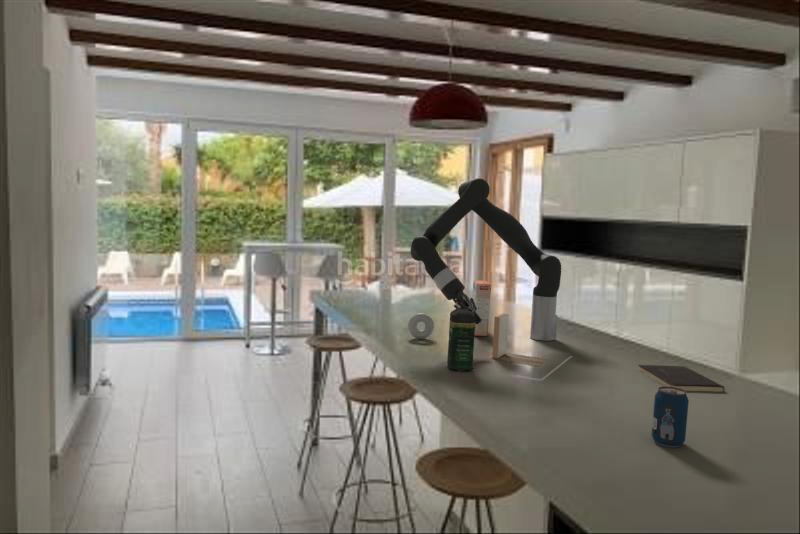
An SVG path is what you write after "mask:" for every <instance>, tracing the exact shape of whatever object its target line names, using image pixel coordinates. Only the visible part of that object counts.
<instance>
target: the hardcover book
mask: <svg viewBox="0 0 800 534" xmlns="http://www.w3.org/2000/svg"><path fill="white" fill-rule="evenodd" d="M638 367H639V371H640V372H642V373H643V374H645V375H646V376H648V377H650V378H652V379H653V380H655V381H656V382H658V383H660V384H661V385H663V387H674V388H679V389H682V390H684V391H686V392H716V393H717V392H719V393H725V386H724V385H722V384H720V383H719V382H716V381H714V380H713V379H710V378H708V377H707V376H705V375H703V374H700V373H699V372H696V371H695V370H693V369H691V368H689V367H687V366H685V365H657V364H656V365H655V364H652V365H651V364H638Z"/></svg>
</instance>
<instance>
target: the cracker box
mask: <svg viewBox="0 0 800 534" xmlns="http://www.w3.org/2000/svg"><path fill="white" fill-rule="evenodd" d="M472 287H473V288H472V298H473V300H474V303H475V305H476V308H477V310H476V313H477V314H478V315H479V317H480V318H481V319H482V321H481V322H480V323H479V324H475V336H474V337H488V334H489V321H490V320H489V319H490V318H489V317H490V309H491V306H490V305H491V294H492V293H491V292H492V291H491V290H492V284H491V283H490V282H488V281H487V280H482V279H481V280H479V279H478V280H477V279H474V280H473V286H472Z"/></svg>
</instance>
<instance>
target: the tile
mask: <svg viewBox="0 0 800 534" xmlns="http://www.w3.org/2000/svg"><path fill="white" fill-rule="evenodd" d="M509 316H510V315H509V313H506V312H505V313H504V312H503V313H500V314H497V315H496V316H495V315H494V320H493V321H494V324H493V339H492V340H493V341H492V353H491V355H492V358H495V359H497V358H499V357H501V356H503V355H504V354H506V353H508V351H507V349H508V332H509V320H510V319H509V318H510V317H509Z"/></svg>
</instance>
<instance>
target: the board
mask: <svg viewBox="0 0 800 534" xmlns="http://www.w3.org/2000/svg"><path fill="white" fill-rule="evenodd" d="M485 359H487V360H494V361H502V362H507V363H513V364H521V365H525V366H526V365H527V366H533V367H540V366H541V365H542V364H543V363H545V362H547V361H548V360H549V359H548V358H543V357H537V356H536V357H535V356H530V355H524V354H523V355H522V354H518V353H510V352H509V353H508V352H507V353H506V354H504V355H503V356H501V357H499V358H497V359H495V358H492V354H490V355H488V356H486V357H485Z"/></svg>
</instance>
